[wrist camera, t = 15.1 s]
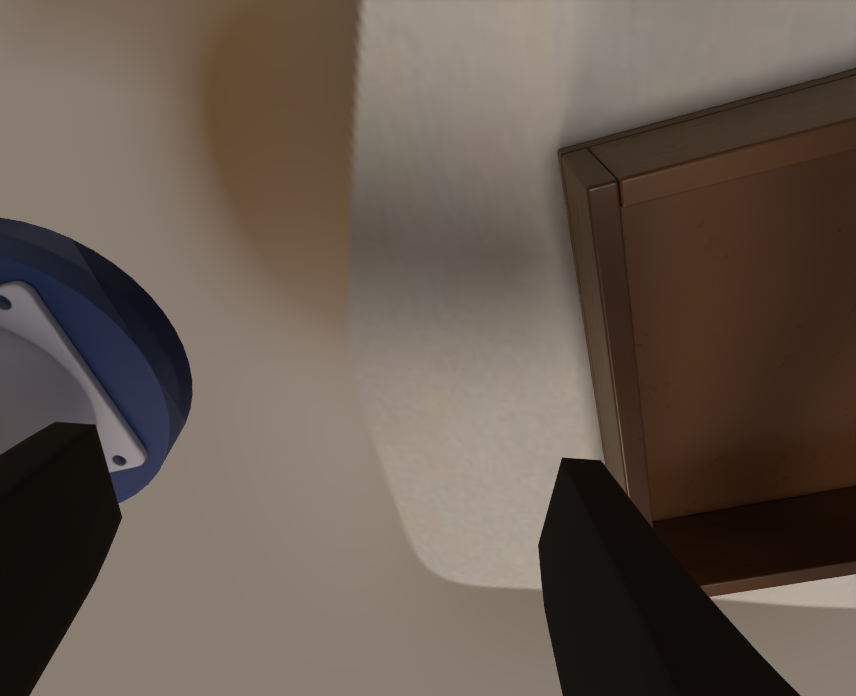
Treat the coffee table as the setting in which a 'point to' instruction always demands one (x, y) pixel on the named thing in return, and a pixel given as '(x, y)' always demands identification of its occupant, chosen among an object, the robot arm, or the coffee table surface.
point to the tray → (728, 329)
